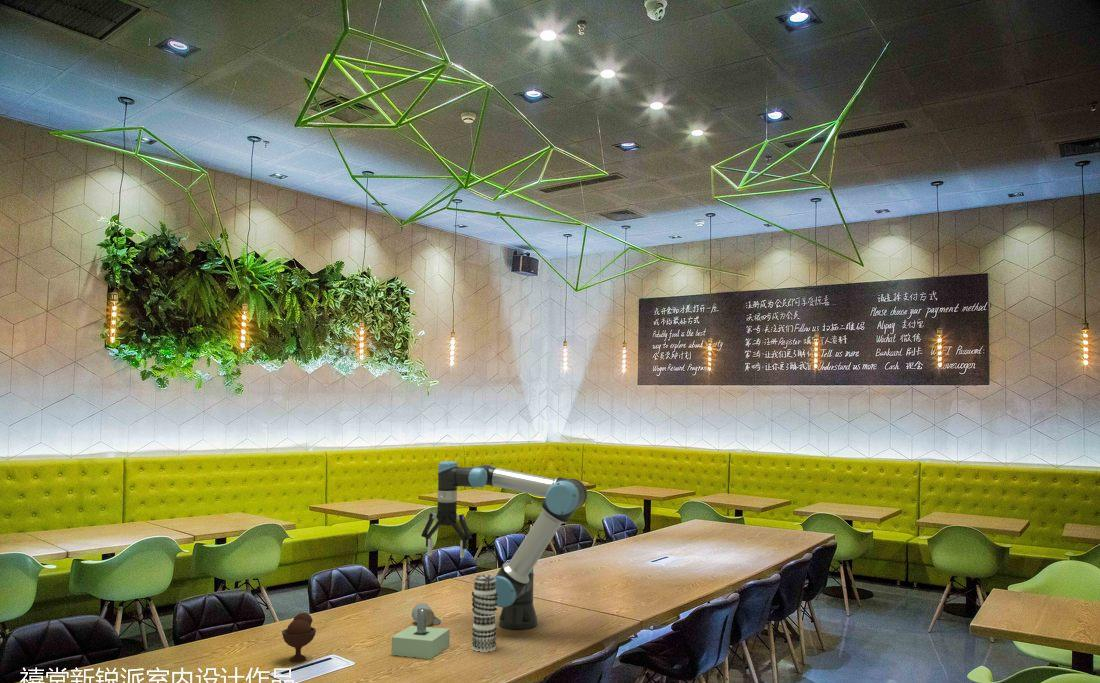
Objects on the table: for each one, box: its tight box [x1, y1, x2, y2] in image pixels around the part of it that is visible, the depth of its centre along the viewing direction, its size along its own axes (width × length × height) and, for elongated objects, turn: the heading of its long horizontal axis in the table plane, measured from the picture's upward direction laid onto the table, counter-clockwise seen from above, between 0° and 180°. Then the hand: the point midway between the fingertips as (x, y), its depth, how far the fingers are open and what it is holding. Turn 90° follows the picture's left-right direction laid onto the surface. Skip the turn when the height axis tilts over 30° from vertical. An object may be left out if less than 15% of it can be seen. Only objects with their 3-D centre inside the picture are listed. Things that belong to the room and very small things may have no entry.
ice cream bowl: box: [281, 612, 317, 663], centre depth 259 cm, size 11×11×15 cm
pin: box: [416, 608, 427, 635], centre depth 270 cm, size 3×3×14 cm
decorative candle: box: [471, 574, 498, 653], centre depth 273 cm, size 9×9×25 cm
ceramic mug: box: [411, 602, 442, 627], centre depth 302 cm, size 11×8×8 cm
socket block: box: [390, 625, 451, 660], centre depth 269 cm, size 15×15×6 cm
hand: (446, 556), depth 301 cm, fingers open, 13 cm apart
